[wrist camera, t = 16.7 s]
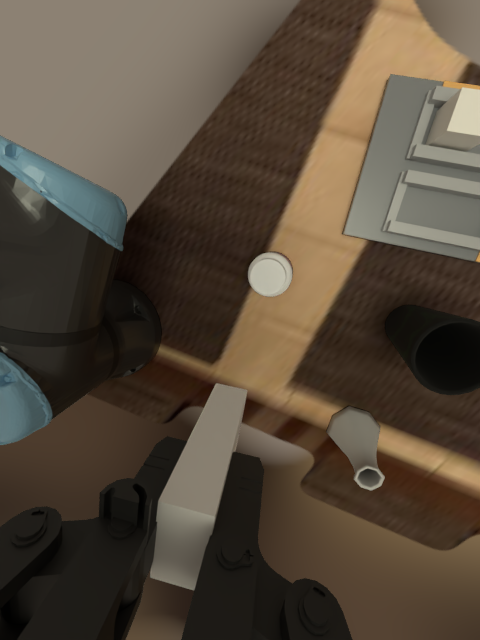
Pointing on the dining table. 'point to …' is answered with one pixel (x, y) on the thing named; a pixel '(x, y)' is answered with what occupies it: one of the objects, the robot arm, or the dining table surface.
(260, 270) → the pill bottle
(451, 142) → the tab
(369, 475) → the flask
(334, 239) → the dining table surface
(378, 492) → the dining table surface
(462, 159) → the switch board
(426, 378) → the cup
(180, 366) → the dining table surface
